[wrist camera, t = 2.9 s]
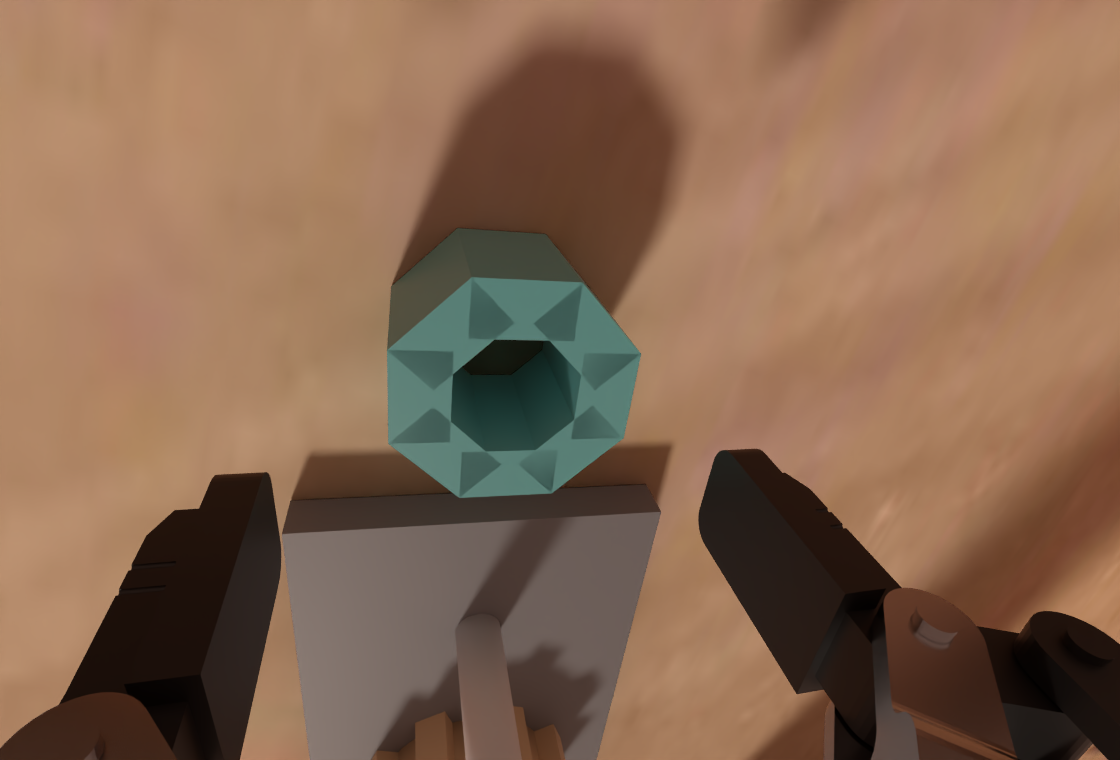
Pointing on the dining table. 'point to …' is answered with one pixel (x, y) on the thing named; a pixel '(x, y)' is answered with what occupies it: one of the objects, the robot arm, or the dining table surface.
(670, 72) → the dining table surface
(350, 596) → the gear board
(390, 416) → the hollow teal octagon tube
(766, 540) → the robot arm
